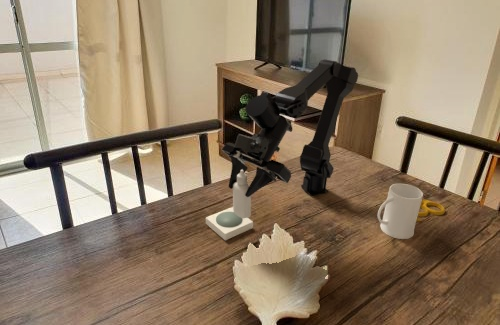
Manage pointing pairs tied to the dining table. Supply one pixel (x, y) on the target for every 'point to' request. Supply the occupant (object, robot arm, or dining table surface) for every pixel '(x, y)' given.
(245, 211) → the eye dropper bottle
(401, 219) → the mug
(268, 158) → the robot arm
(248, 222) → the plinth
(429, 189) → the dining table surface
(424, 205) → the yellow scissors
